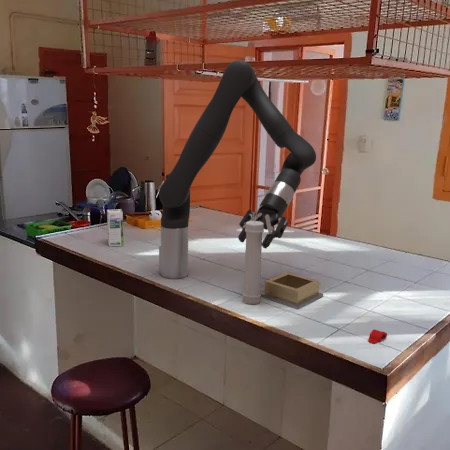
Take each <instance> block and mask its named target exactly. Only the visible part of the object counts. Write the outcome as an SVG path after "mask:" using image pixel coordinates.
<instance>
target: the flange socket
mask: <svg viewBox="0 0 450 450" xmlns="http://www.w3.org/2000/svg"><path fill="white" fill-rule="evenodd" d="M320 284H321V283H320V281H319V280H315V279H312V278H309V277H305V276H302V275H298V274H296V273H295V274H294V273H292V272H289V271H288V272H287V271H286V272H285V273H282V274H280V275H278V276H274V277H272V278H270V279H267V280H264V291H263V292H260V293H261V296H260V298H263V299H265V300H268V301H271V302H276V303H277V304H281V305H284V306H287V307H290V308H291V309H292V308H293V309H296V310H299V309H301V308H303V307H306V306H308V305H310V304H311V303H313V302H316V301H317V300H319V299H321V298H323V297H324V293H323V292H320Z"/></svg>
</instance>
